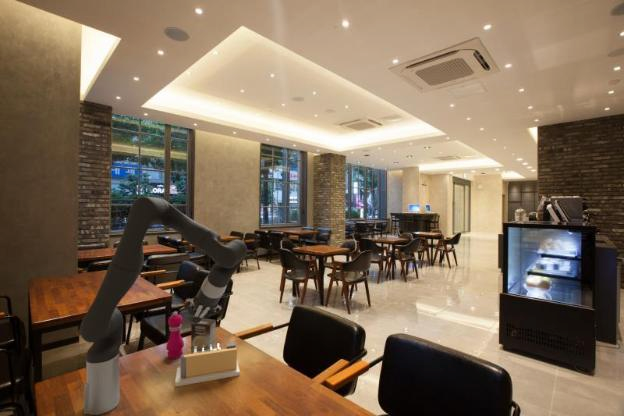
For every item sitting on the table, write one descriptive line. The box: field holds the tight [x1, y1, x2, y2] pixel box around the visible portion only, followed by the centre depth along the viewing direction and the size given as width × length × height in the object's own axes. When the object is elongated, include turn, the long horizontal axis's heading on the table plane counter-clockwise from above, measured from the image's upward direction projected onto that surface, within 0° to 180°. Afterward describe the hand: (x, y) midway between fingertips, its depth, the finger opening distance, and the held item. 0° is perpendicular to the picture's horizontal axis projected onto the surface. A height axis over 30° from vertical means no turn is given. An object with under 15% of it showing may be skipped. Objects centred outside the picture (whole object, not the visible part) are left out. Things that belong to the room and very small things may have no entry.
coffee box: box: [190, 318, 217, 354], centre depth 136 cm, size 9×6×16 cm
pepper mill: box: [166, 311, 185, 359], centre depth 137 cm, size 7×7×20 cm
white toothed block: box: [193, 342, 222, 353], centre depth 125 cm, size 11×5×8 cm, turn 110°
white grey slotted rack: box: [174, 341, 241, 387], centre depth 123 cm, size 24×11×10 cm, turn 110°
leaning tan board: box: [179, 346, 238, 378], centre depth 121 cm, size 21×3×8 cm, turn 110°
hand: (195, 321), depth 108 cm, fingers closed
